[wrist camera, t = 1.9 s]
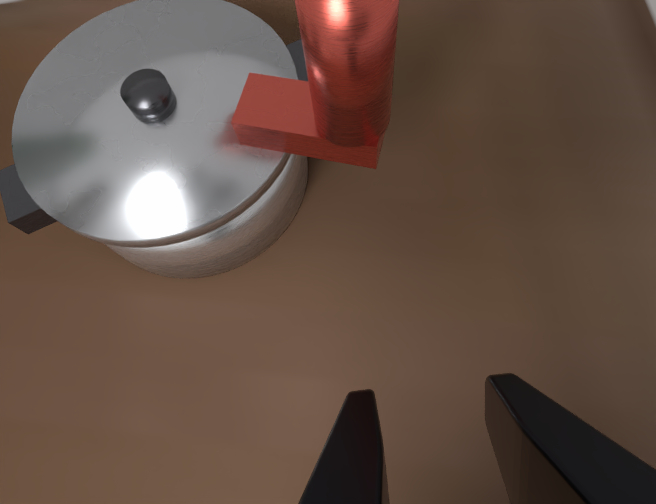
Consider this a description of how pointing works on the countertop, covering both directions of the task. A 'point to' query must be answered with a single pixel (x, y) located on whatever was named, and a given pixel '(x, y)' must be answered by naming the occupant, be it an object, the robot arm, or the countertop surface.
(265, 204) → the pot
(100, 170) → the lid
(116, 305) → the countertop surface
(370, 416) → the robot arm
